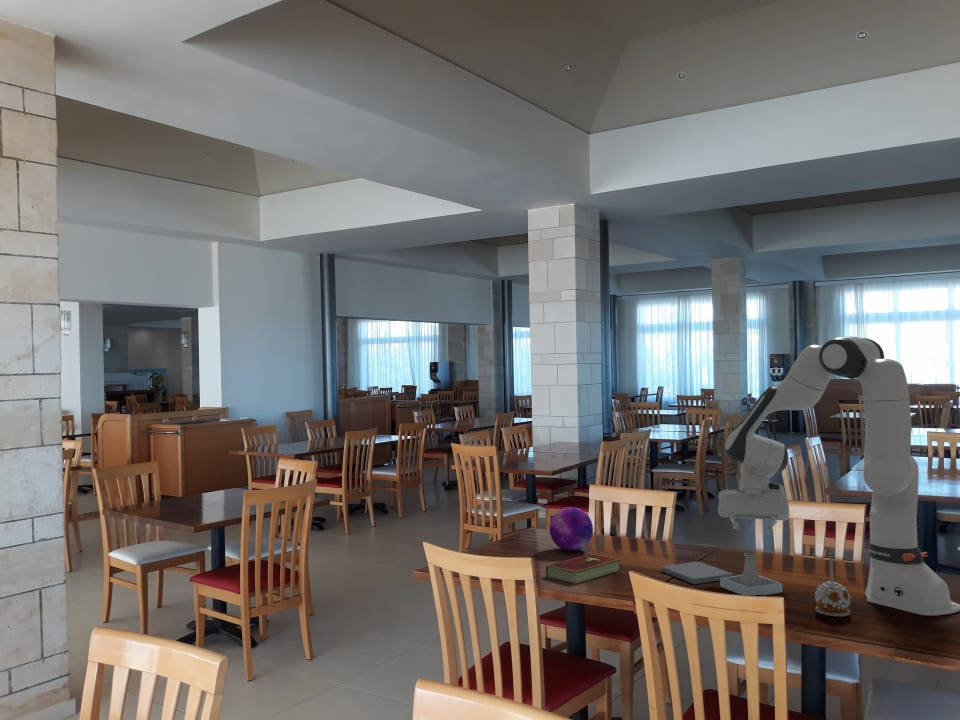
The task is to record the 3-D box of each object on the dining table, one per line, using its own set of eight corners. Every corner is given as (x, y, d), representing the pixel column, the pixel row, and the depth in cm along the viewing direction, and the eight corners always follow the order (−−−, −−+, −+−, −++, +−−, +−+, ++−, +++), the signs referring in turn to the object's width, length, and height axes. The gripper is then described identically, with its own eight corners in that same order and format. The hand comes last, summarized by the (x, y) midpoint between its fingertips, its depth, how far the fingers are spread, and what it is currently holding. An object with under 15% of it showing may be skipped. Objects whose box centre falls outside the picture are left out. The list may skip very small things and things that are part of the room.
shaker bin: (782, 592, 208) (782, 583, 208) (748, 597, 203) (748, 588, 203) (752, 581, 218) (752, 573, 218) (720, 586, 214) (720, 577, 214)
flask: (766, 594, 207) (765, 557, 207) (739, 593, 208) (738, 556, 208) (762, 586, 214) (761, 551, 214) (735, 585, 215) (734, 550, 215)
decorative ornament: (830, 619, 184) (828, 558, 185) (809, 610, 192) (807, 551, 192) (857, 616, 186) (855, 556, 186) (835, 607, 194) (833, 549, 194)
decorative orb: (595, 555, 253) (594, 511, 254) (550, 555, 254) (549, 511, 255) (591, 545, 268) (590, 503, 269) (549, 545, 269) (548, 503, 270)
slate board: (733, 578, 222) (732, 573, 222) (693, 584, 217) (693, 579, 217) (698, 566, 237) (698, 561, 237) (661, 571, 232) (661, 566, 232)
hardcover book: (546, 578, 229) (545, 564, 229) (590, 565, 243) (590, 552, 243) (576, 585, 220) (575, 571, 220) (620, 572, 234) (620, 558, 234)
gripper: (717, 483, 233) (714, 520, 224) (789, 486, 225) (788, 525, 216) (719, 495, 237) (716, 532, 228) (789, 498, 229) (789, 537, 220)
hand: (752, 529), depth 222 cm, fingers open, 8 cm apart
